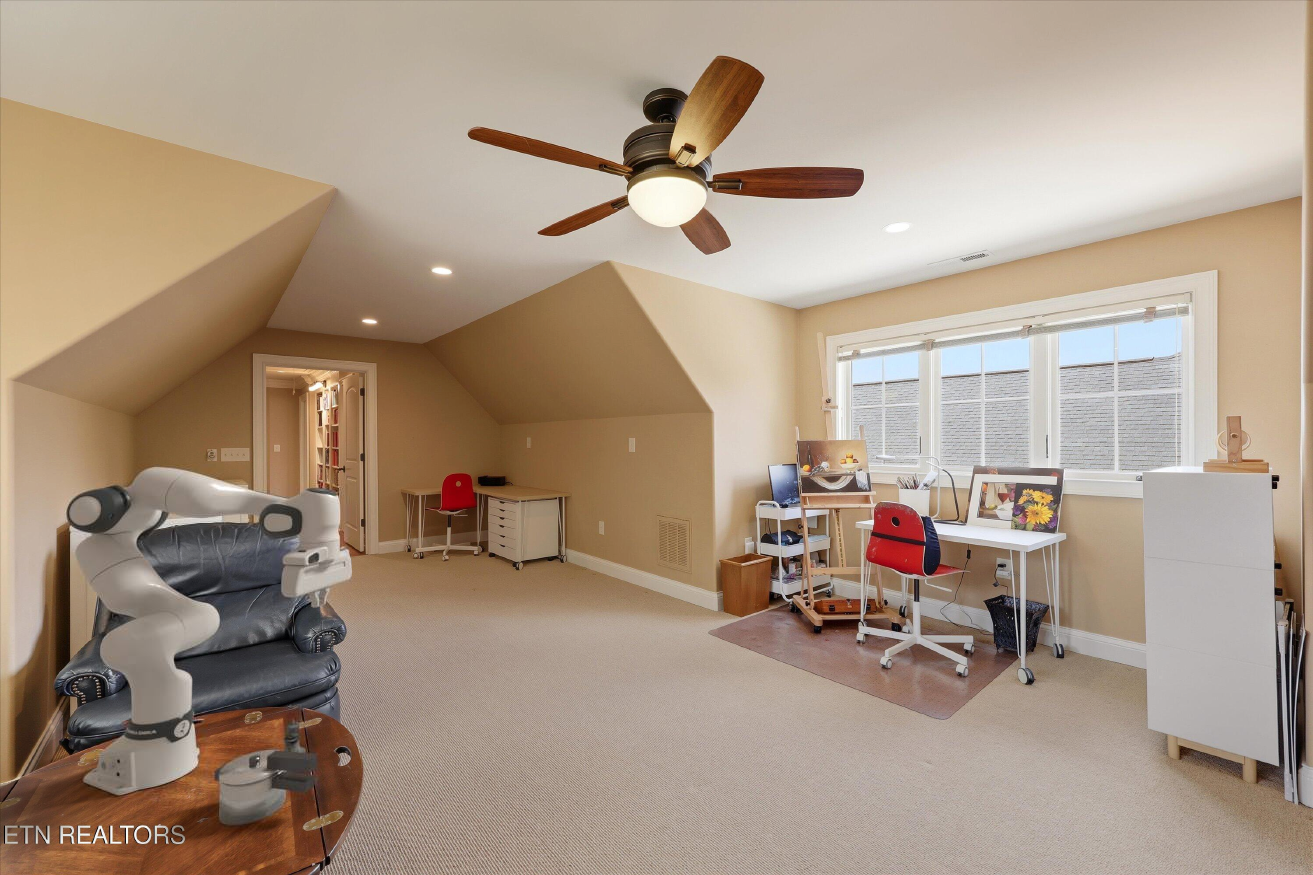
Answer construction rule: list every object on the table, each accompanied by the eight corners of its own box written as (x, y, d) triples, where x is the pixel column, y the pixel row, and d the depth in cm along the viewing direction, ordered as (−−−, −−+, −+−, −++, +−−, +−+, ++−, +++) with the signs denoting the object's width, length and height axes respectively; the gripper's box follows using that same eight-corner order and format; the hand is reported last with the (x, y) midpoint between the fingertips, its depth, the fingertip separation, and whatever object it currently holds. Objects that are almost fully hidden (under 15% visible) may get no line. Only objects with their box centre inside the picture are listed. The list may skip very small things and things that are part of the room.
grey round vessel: (291, 775, 138) (293, 725, 138) (271, 772, 139) (272, 723, 139) (311, 762, 143) (312, 714, 144) (291, 759, 145) (292, 712, 145)
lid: (203, 783, 120) (204, 765, 120) (251, 752, 133) (251, 735, 133) (291, 791, 118) (292, 772, 118) (332, 758, 130) (332, 742, 130)
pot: (193, 819, 121) (194, 781, 121) (242, 786, 133) (243, 751, 133) (286, 833, 117) (287, 794, 118) (329, 797, 129) (330, 762, 129)
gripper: (338, 544, 156) (336, 594, 156) (276, 558, 136) (275, 616, 136) (358, 545, 155) (357, 596, 155) (300, 559, 135) (298, 618, 135)
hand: (318, 605), depth 145 cm, fingers closed
